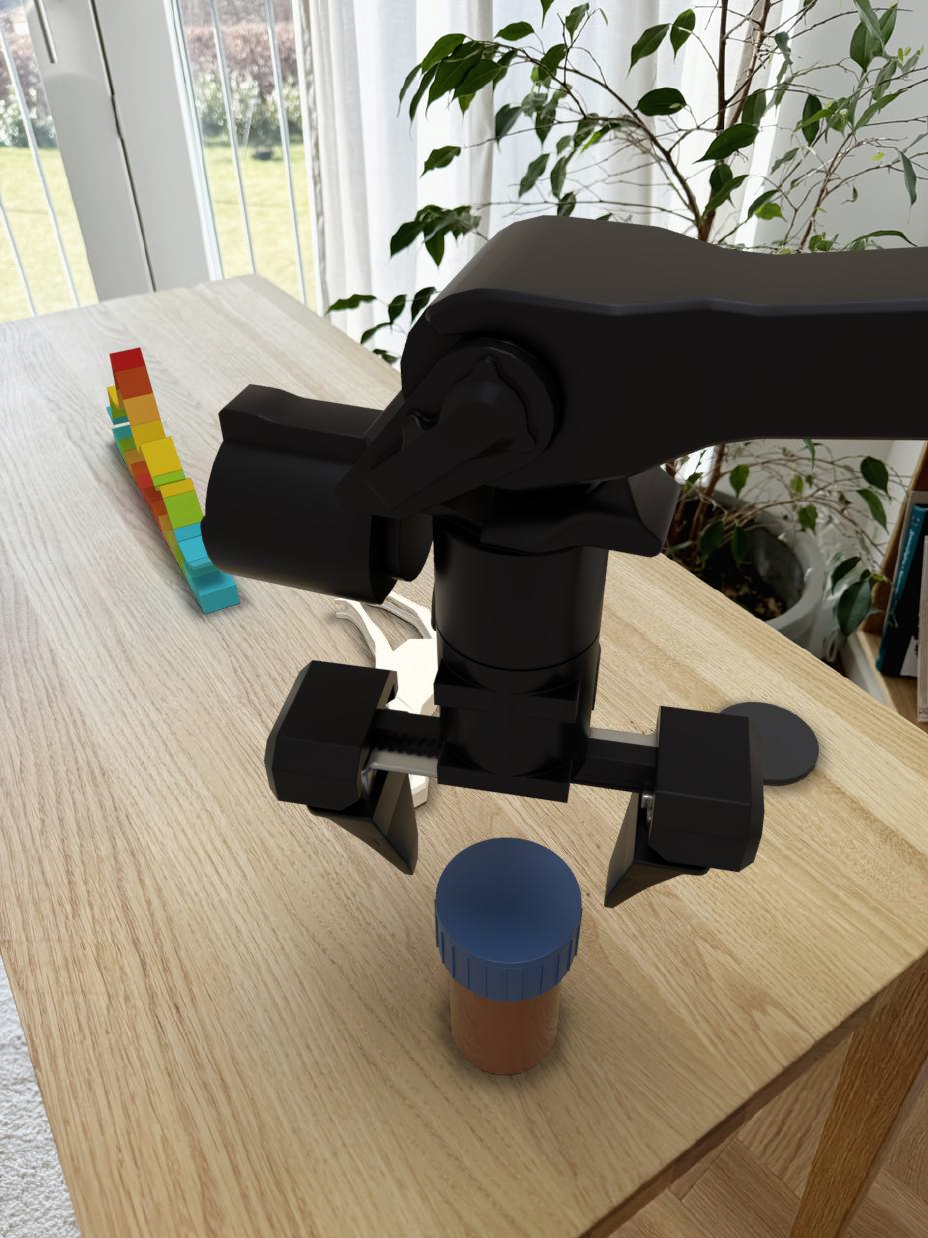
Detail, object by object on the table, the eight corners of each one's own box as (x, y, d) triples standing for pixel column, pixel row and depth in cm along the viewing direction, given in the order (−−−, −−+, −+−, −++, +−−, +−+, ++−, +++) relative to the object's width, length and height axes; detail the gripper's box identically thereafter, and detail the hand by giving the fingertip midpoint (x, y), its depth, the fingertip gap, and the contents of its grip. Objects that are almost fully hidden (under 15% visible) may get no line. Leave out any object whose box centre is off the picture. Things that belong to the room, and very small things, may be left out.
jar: (562, 984, 53) (576, 862, 46) (548, 1085, 49) (561, 969, 42) (462, 965, 54) (460, 843, 47) (440, 1063, 50) (434, 946, 43)
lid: (585, 889, 48) (590, 848, 46) (569, 1016, 43) (573, 977, 41) (452, 866, 49) (451, 826, 47) (421, 988, 44) (418, 949, 42)
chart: (243, 602, 79) (210, 438, 69) (204, 614, 78) (165, 449, 68) (147, 438, 99) (112, 294, 90) (116, 445, 98) (77, 301, 89)
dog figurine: (252, 631, 73) (384, 806, 60) (401, 573, 79) (551, 722, 66) (256, 649, 74) (385, 825, 61) (402, 591, 80) (549, 741, 67)
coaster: (813, 715, 69) (815, 709, 68) (821, 793, 63) (823, 787, 63) (709, 701, 70) (710, 695, 69) (708, 776, 64) (709, 770, 64)
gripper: (784, 514, 38) (720, 777, 48) (328, 469, 41) (358, 725, 51) (803, 714, 30) (721, 982, 40) (229, 640, 33) (287, 907, 43)
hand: (508, 882), depth 44 cm, fingers open, 9 cm apart
